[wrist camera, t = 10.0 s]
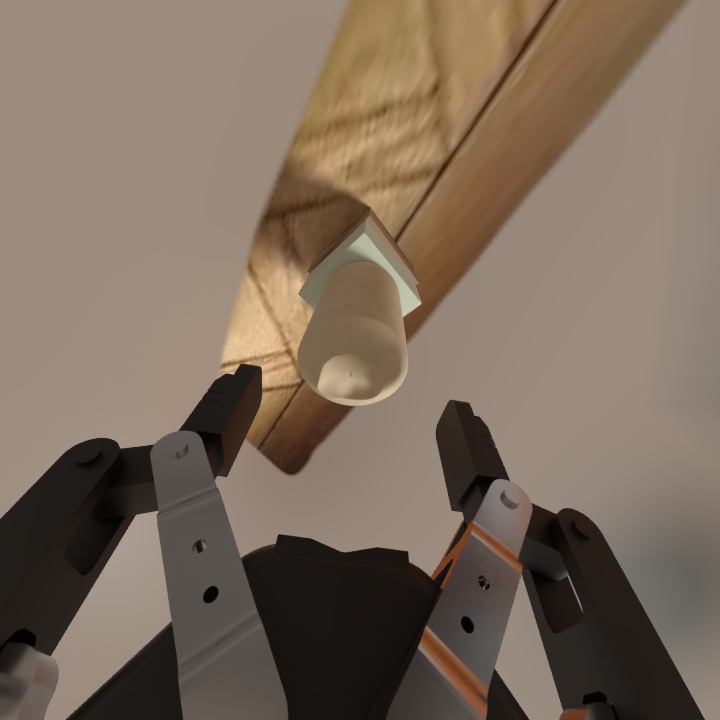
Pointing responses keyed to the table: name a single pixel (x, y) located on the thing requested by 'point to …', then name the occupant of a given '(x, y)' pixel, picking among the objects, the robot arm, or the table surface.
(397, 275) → the top block
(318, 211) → the table surface
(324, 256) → the base block
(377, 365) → the candle
